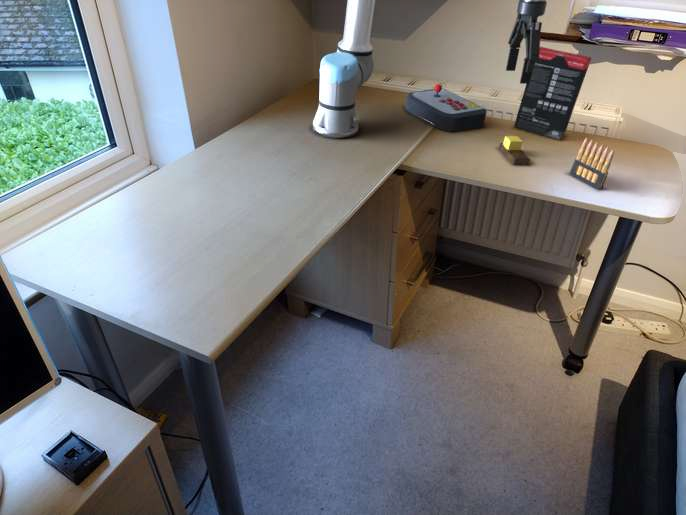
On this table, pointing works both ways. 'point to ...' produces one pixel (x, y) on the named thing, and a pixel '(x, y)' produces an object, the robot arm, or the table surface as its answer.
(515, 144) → the yellow block
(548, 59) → the graphics card box
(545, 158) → the table surface
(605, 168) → the ammunition clip
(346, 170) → the table surface
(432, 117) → the arcade joystick
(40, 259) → the table surface
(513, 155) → the walnut strip
